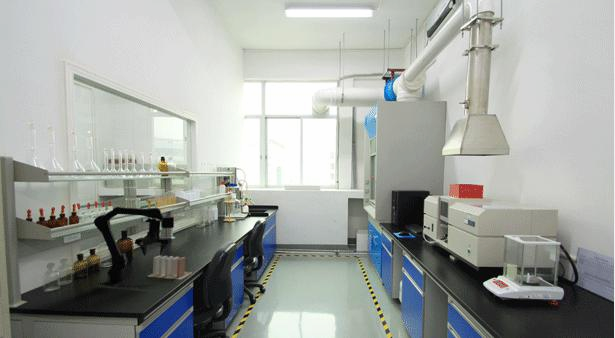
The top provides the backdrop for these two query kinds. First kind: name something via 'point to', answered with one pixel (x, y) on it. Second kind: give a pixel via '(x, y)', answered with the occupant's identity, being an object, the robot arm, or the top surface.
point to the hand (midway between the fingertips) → (152, 255)
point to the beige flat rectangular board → (170, 276)
